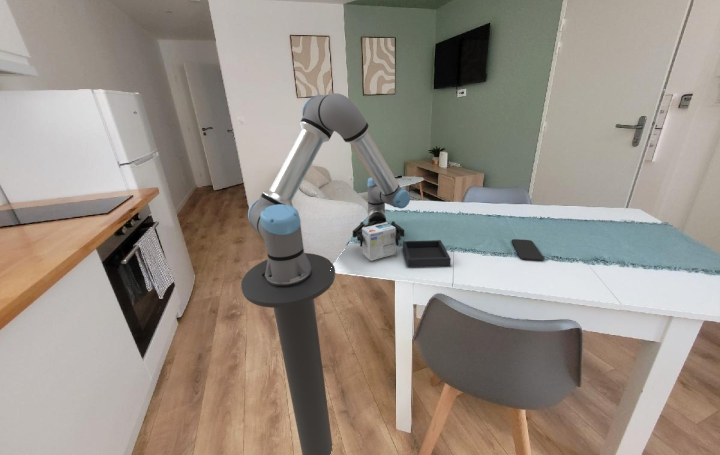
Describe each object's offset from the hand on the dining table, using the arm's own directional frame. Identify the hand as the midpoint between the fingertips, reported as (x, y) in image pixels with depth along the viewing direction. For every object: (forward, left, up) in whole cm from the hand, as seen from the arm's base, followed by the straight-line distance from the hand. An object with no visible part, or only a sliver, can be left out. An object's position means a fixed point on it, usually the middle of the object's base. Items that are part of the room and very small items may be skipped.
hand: (379, 242), depth 101 cm
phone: (+54, +5, -7) cm, 55 cm away
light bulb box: (0, +4, -7) cm, 8 cm away
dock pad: (+17, +2, -7) cm, 18 cm away
